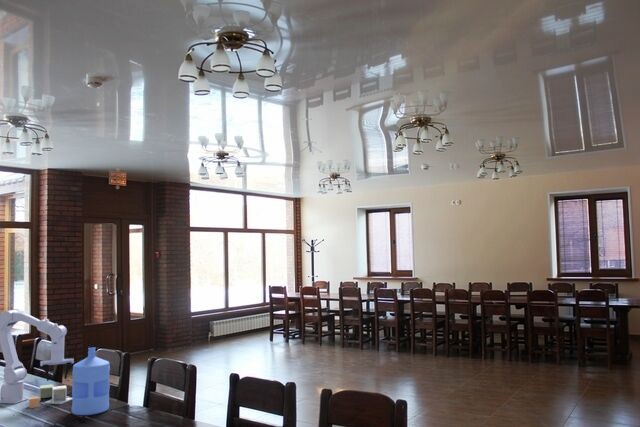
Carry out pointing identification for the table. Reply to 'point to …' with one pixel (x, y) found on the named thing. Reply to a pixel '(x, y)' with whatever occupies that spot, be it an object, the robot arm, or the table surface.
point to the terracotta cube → (33, 402)
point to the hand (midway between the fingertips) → (56, 379)
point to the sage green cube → (45, 391)
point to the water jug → (90, 385)
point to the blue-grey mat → (58, 401)
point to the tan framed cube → (59, 392)
